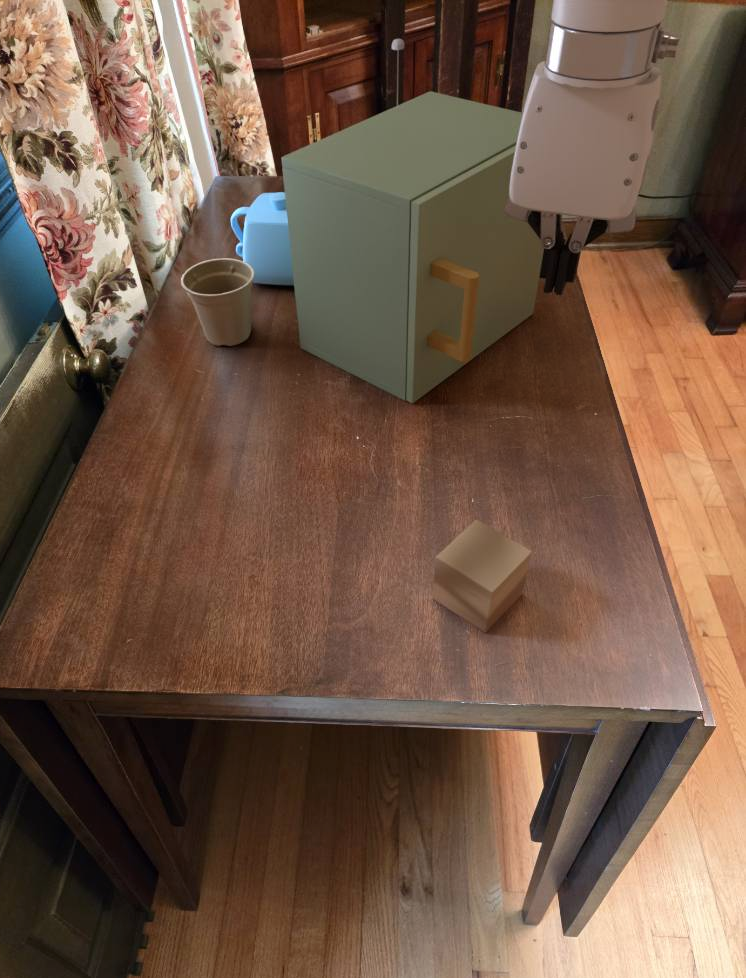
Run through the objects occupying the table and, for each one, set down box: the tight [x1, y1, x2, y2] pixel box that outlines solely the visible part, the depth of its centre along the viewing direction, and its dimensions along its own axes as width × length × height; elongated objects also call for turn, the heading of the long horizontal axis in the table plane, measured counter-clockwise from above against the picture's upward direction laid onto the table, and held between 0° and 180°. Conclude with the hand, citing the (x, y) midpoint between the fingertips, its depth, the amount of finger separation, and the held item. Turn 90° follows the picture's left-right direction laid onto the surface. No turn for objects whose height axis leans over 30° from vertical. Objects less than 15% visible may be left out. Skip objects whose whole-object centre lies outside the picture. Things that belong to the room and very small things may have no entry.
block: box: [432, 519, 533, 634], centre depth 65 cm, size 6×6×6 cm
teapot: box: [230, 191, 294, 286], centre depth 106 cm, size 12×18×12 cm
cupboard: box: [281, 91, 523, 402], centre depth 89 cm, size 18×26×24 cm
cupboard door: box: [406, 145, 544, 404], centre depth 83 cm, size 6×26×24 cm, turn 137°
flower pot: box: [180, 257, 254, 347], centre depth 96 cm, size 9×9×9 cm
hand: (555, 286), depth 66 cm, fingers closed
